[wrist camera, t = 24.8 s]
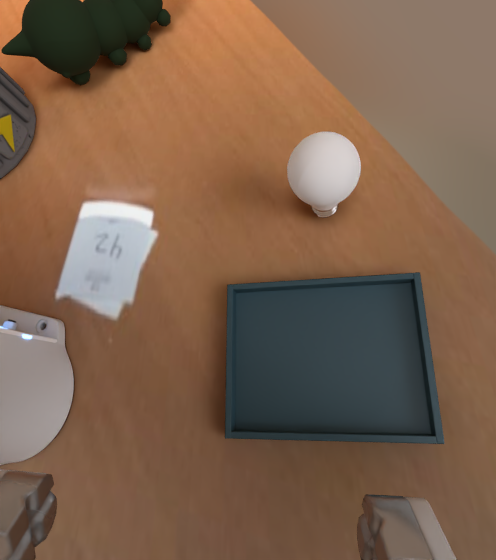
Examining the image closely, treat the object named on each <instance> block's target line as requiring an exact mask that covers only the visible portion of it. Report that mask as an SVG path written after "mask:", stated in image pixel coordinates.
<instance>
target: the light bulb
mask: <svg viewBox="0 0 496 560" xmlns="http://www.w3.org/2000/svg"><path fill="white" fill-rule="evenodd" d="M360 171H361V163H360V157H359V155H358V152H357V150H356V148H355V147H354V145H353V144H352V143H351V142H350V141H349V140H348V139H347V138H345V137H344V136H342V135H340V134H337V133H334V132H319V133H315V134H312V135H310V136H308V137H306V138H305V139H303V140H302V141H301V142H300V143H299V144H298V145H297V146H296V147H295V149H294V150H293V152H292V153H291V156H290V159H289V162H288V167H287V174H288V181H289V184H290V186H291V189H292V190H293V192H294V193H295V194H296V196H297V197H298V198H299V199H301V200H302V201H303V202H305V203H307V204H309V205H311V209H312V210H313V211H314V213H315V214H316V215H317V216H319V217H323V218H326V217H330V216H331V215H333V214H334V213H335V212H336V211H337V209H338V205H339V202H341V201H343V200H344V199H345V198H347V197H348V196H349V194H350V193H351V192H352V191H353V190H354V188H355V187H356V185H357V182H358V179H359V176H360Z"/></svg>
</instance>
